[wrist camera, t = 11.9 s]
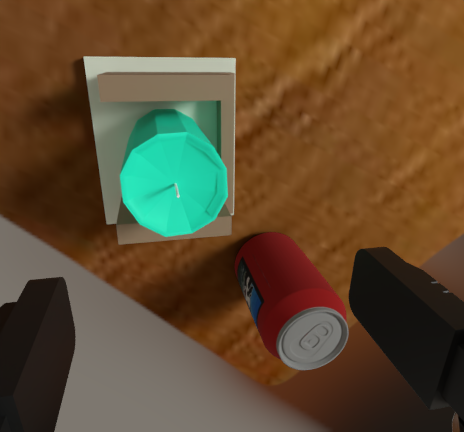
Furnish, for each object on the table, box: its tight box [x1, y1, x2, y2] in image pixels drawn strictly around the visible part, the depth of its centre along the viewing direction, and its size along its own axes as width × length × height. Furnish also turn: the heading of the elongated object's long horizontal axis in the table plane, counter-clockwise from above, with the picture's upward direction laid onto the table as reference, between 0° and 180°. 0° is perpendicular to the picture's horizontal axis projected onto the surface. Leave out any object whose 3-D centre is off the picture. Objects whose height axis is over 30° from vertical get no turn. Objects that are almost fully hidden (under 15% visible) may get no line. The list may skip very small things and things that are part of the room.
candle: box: [120, 109, 228, 237], centre depth 24 cm, size 6×6×12 cm
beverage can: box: [235, 232, 348, 370], centre depth 31 cm, size 7×7×12 cm
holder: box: [83, 57, 236, 245], centre depth 27 cm, size 13×11×7 cm
